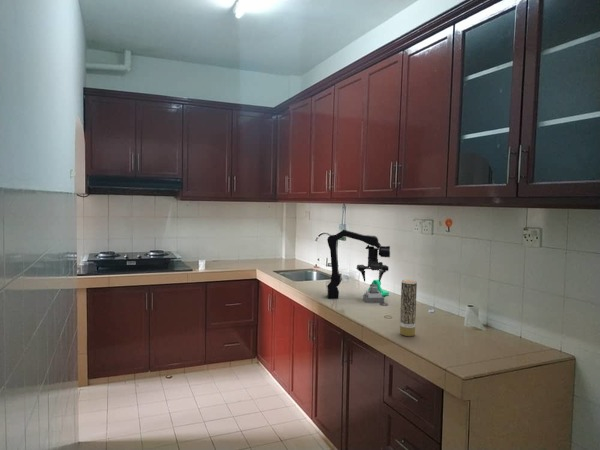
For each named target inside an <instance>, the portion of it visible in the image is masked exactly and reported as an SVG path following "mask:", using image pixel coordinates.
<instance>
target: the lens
mask: <svg viewBox="0 0 600 450" xmlns="http://www.w3.org/2000/svg"><path fill="white" fill-rule="evenodd" d="M369 287H370V293H377V285H376V284H372V283H370V284H369Z"/></svg>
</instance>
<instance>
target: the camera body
mask: <svg viewBox="0 0 600 450" xmlns="http://www.w3.org/2000/svg"><path fill="white" fill-rule="evenodd" d="M362 299H363V301H364V302H365V303H366V304H368V303H371V304H373V303H375V304H377V303H378V304H380V303H385V297H384V296H382V293H380V292H379V291H377V293H370V291H368V290H365V293H363V295H362Z"/></svg>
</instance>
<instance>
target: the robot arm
mask: <svg viewBox="0 0 600 450" xmlns="http://www.w3.org/2000/svg"><path fill="white" fill-rule="evenodd" d="M344 237H346V238H350V239H354V240H357V241H361V242H363V243H366V246H365V249H366V250H367V252H368V254H367V255H368V256H367V265H364V264H357V265H356V270H357V271H358V272H360V274H361V276H362V279H363V282H366V270H371V271H378V280H379V282H380V281H381V280H382V277H383V275H384V274H385V273H386V272H389V266H388V265H387V264H384V263H383V262H382V261H379V259H378V256H380V258H390V257H391V246H390V245H386V246H384V245H381V243H380V242H379V238H378V236H376V235H371V234H370V235H366V234H361V233H358V232H354V231H350V230H347V229H343V230H341V231H340V232H337V233H336V234H331V235H329V236H328V237H327V239H326V241H327V245H328V247H329V251H330V252H329V253H330V264H331V276H330V282H329V283H328V284H327V286H326V289H327V290H326V291H327V293H326V298H327V299H332V300H333V299H339V297H340V295H339V294H340V291H339V288H338V286H339V285H340V284H341V282H342V281H343V278H342V273H340V271H339V264H338V262H339V261H338V243H339V240H341V239H342V238H344Z"/></svg>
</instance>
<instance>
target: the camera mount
mask: <svg viewBox="0 0 600 450" xmlns="http://www.w3.org/2000/svg"><path fill="white" fill-rule="evenodd" d="M371 284H376V285H377V291H379V292H380V293H382V296H383V297H384V296H390V292H389V291H387V290H383V289H382V287H381V285H382V282H381V280H380V282H379V279H373V281H372V282H371ZM367 291H370V286H369V287H368V289H367Z"/></svg>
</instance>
